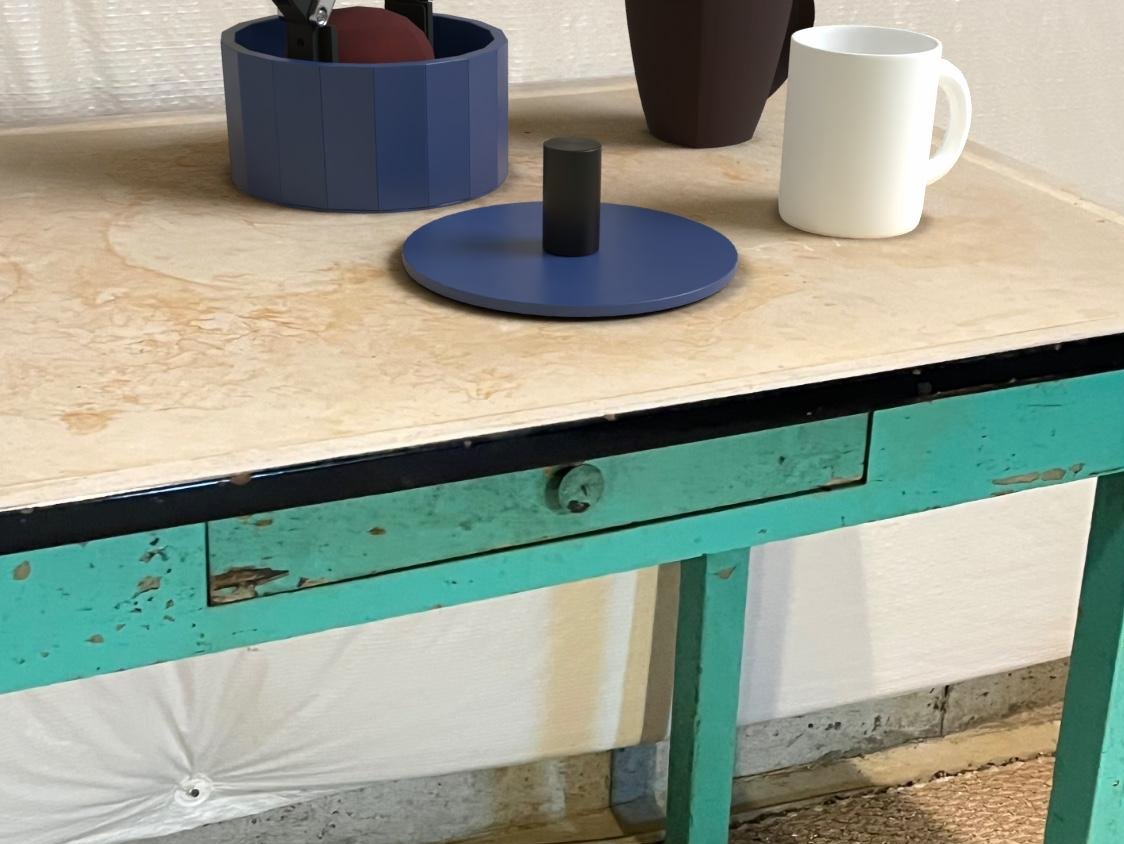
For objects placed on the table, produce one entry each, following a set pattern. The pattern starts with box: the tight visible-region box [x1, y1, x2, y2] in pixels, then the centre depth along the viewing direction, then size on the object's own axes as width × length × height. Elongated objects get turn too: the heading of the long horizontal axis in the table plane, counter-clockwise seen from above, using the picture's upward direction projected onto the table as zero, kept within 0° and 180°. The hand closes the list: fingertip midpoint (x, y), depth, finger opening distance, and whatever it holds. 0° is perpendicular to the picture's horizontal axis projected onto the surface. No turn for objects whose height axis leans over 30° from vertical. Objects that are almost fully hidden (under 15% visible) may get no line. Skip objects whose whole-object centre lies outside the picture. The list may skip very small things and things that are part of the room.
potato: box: [285, 5, 435, 64], centre depth 100 cm, size 8×9×6 cm
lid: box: [401, 135, 739, 318], centre depth 88 cm, size 18×18×7 cm
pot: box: [219, 12, 509, 215], centre depth 102 cm, size 17×17×8 cm
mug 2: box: [778, 24, 972, 240], centre depth 97 cm, size 12×8×10 cm
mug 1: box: [624, 0, 816, 150], centre depth 112 cm, size 10×14×12 cm
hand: (363, 79), depth 101 cm, fingers closed on potato, 8 cm apart
